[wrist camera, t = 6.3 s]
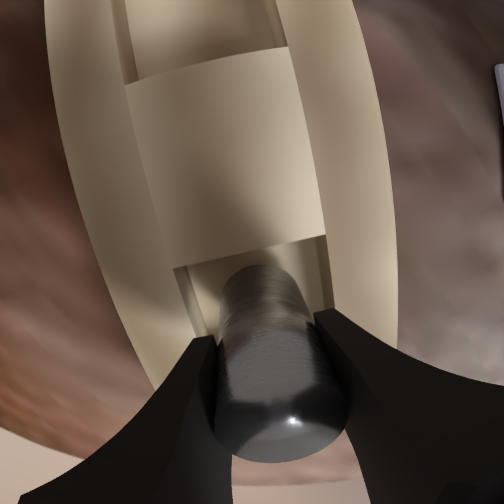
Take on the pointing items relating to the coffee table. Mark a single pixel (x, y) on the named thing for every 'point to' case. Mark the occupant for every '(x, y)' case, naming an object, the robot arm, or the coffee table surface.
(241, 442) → the grey cylinder
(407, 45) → the coffee table surface
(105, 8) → the tool board
